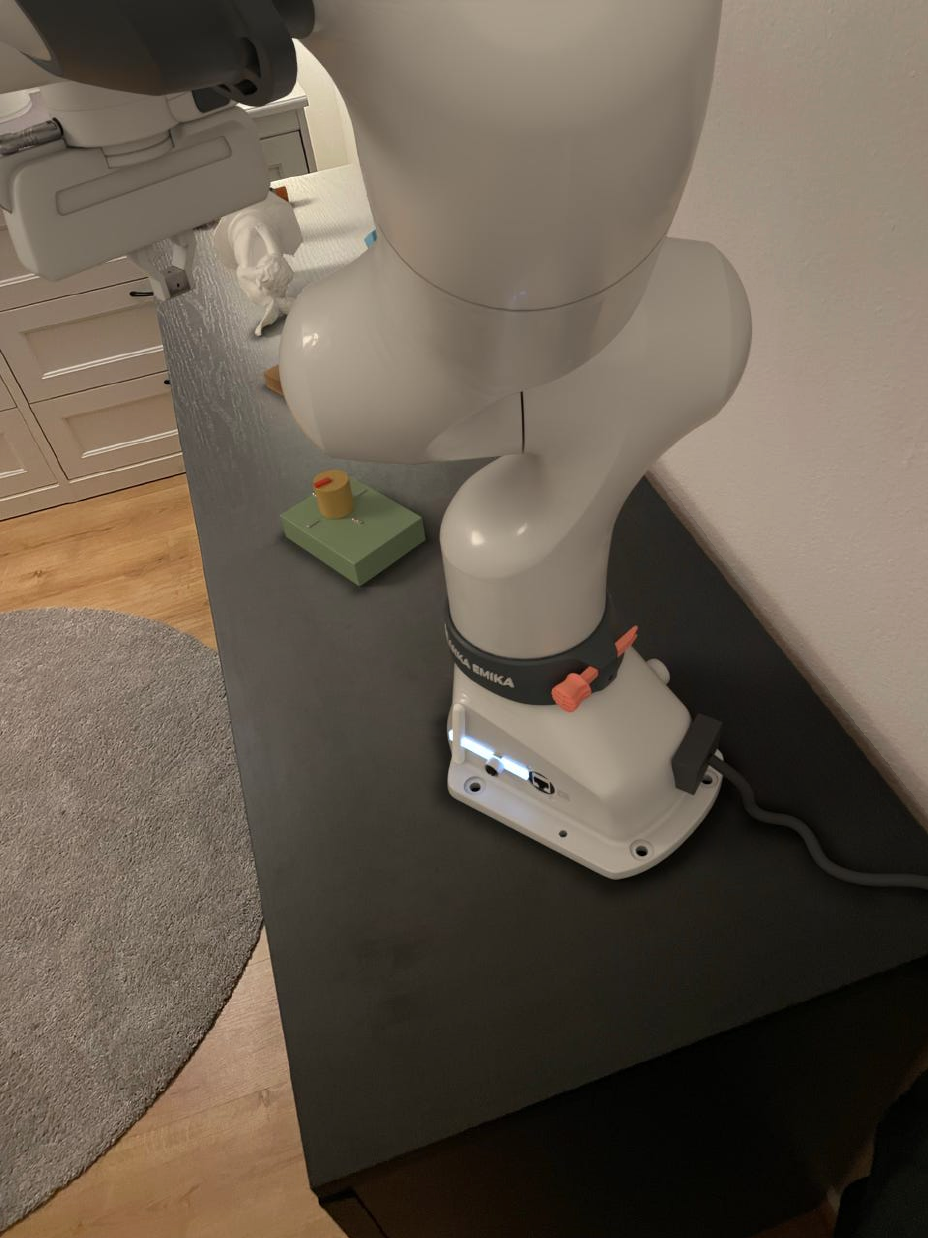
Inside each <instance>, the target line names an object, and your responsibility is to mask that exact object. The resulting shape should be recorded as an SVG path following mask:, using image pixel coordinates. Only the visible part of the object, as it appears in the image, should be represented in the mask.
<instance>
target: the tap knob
mask: <svg viewBox="0 0 928 1238" xmlns="http://www.w3.org/2000/svg"><path fill="white" fill-rule="evenodd" d="M347 474H348V473H346V472H345V471H343V470H341V469H328V470H325V471H322V472H320V473H318V474H317V475H316V476H315V477H314V478H313V480H312V487H313V490H314V491H313V492H315V495H316V498H317V502H318V506H319V510H320V513H321V515H322V516H324V517H326V518H329V519H339V518H342V517H345V516H347V515H349V514H350V513H351V512H352V511H353V509H354V506H355V504H354V500H353V495H352V491H351V486H350V482H349V478H348V475H349V474H348V475H347Z"/></svg>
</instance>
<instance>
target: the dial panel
mask: <svg viewBox="0 0 928 1238" xmlns="http://www.w3.org/2000/svg"><path fill="white" fill-rule="evenodd" d="M346 474H347V475H348V478H349V482H350V486H351V491H352V495H353V500H354V504H355V506H354V509H353V511H352V512H351V513H350V514H349V515H347V516H345V517H342V518H339V519H329V518H326V517H324V516H322V515H321V513H320V510H319V506H318V502H317V498H316V495H315V491H313V493H311V495H309V496H307V497H306V498H304V499H303V500H301V501H300V502H298V503H297V504H295V505H293V506H292V507H290V508H288V509H287V510H286V511H284V512H282V513H280V514H279V517H280V522H281V524H282V528H283V530H284V535H285V537H286V538H287V539H288V540H290V541H292V542H293V543H294V544H295V545H297V546H299V547H300V548H302V549H303V550H305V551H307V552H308V553H309V554H310V555H312V556H314V558H316V559H318V560H320V562H323V563H324V564H326V565H327V566H329V567H330V568H331V569H333V570H334V571H336V572H337V573H339V574H340V575H342V576H343V577H344V578H346V579H347V580H349V581H351V582H352V583H353V584H355V585H356V586H357V587H361V586H363V585H364V584H366V583H367V582H368V581H370V580H371V579H372V578H374V577H376V576H377V575H379V574H380V573H382V572H383V571H384V570H386V569H387V568H388V567H390V566H391V565H392V564H394V563H395V562H397V561H398V560H400V559H402V557H404V556H405V555H407V554H408V553H409V552H411V551H412V550H413V549H415V548H416V547H418V546H420V544H422V543H423V542H425V541H426V540H427V539H426V534H425V527H424V519H423V517H422V516H420V515H419V514H417V513H415V512H414V511H412V510H410V509H408V508H407V507H405V506H403V505H402V504H400V503H398V502H396V501H394V500H393V499H391V498H389V497H388V496H386V495H384V494H382V493H380V492H379V491H378V490H376V489H374V488H372V487H370V486H368V485H367V484H365V483H363V482H362V481H360V480H358V479H356V478H355V477H353V476H351V475H350V474H348V473H346Z"/></svg>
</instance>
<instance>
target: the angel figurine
mask: <svg viewBox="0 0 928 1238" xmlns="http://www.w3.org/2000/svg"><path fill="white" fill-rule="evenodd" d="M302 243H304V236H303V232H302V230H301V227H300V224H299V222H298V218H297V216H296V213H295V210H294V207H293V206H292V204H291V202H289V203H288V202H287V201H285V200H284V199H282V198H280V197H279V196H277V195H276V194H274V193H273V192H271V191H269V192H268V195H267V198H266V199H265V200H264V201H262V202H260V203H257V204H254V205H252V206H249V207H247V208H244V209H242V210H239V211H236V212H234V213H231V214H229V215H226V216H224V217H221V218H220V219H219V221H218V223H217V225H216V226H215V229H214V231H213V233H212V239H211V245H212V247H213V249H214V251H215V253H216V257H215V258H214V260H216V261H219V262H220V263H221V264H222V265H224V266H225V267H226V268H227V269H230V270H232V271H235V275H236V279H237V282H238V284H239V286H240V289H241V290H242V292H244V293H245V295H247V298H248V299H249V300H250V301H251V302H252V303H253V304H255V305H257V306H266V308H265V314H264V316H263V317H262V319H261V320H260V323H259V324H258V326H256V328H255V331H254V334H255V335H256V337H259V336H262V330H263V328H264V327H266V326H270V325H273V324H274V323H275V322H277V319H278V317H279V313H280V314H282V315H286V316H288V314H289V311H290V309H291V307H292V305H293V304H294V302H295V300H296V299H297V297H292V296H286V295H287V291H288V289H289V285H290V284H291V283H292V282H293V280H294V274H295V273H294V271H293V269H292V267H291V266H290V264H289V262H288V261H287V259H286V257H284V255H288V256H292V257H293V258H294V257H295V254H296V253H297V251H298V250H299V248H300V246H301V245H302Z"/></svg>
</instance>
